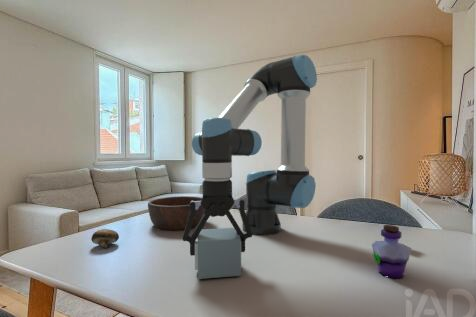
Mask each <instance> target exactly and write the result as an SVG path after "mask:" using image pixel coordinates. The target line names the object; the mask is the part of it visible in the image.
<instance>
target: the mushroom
mask: <svg viewBox="0 0 476 317" xmlns="http://www.w3.org/2000/svg"><path fill="white" fill-rule="evenodd" d="M119 238H120V236H119V233H118V232H117V231H116V230H113V229H107V228H103V229H98V230H96V231H94V232H93V234H92V235H91V239H90V240H91V242H92V243H93V244H95V245H98V246H99V247H101V248H104V249H107V248H109V245H111V244H114V243H116V242H118V241H119Z"/></svg>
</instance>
